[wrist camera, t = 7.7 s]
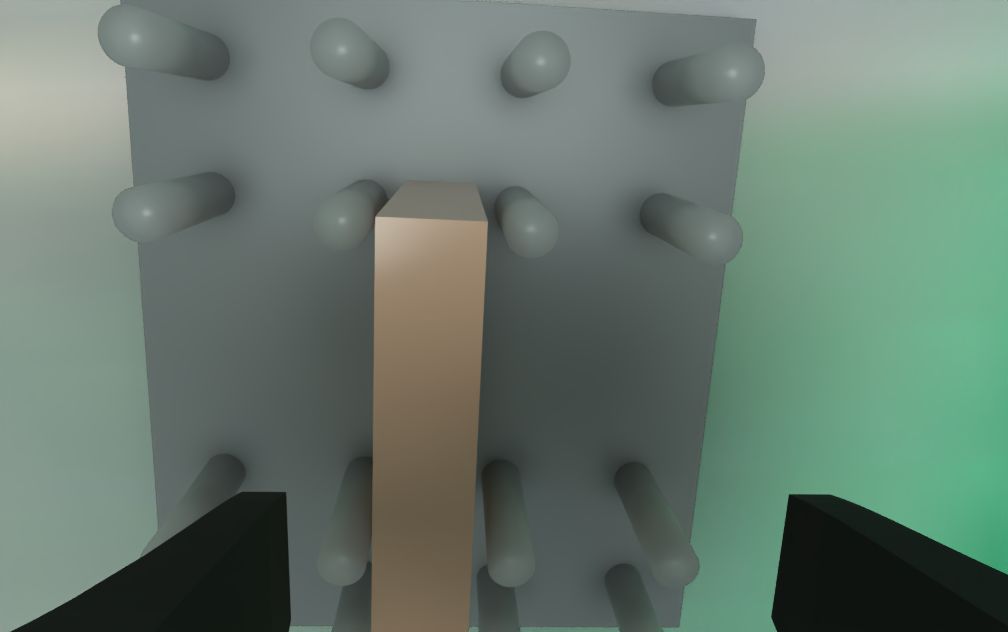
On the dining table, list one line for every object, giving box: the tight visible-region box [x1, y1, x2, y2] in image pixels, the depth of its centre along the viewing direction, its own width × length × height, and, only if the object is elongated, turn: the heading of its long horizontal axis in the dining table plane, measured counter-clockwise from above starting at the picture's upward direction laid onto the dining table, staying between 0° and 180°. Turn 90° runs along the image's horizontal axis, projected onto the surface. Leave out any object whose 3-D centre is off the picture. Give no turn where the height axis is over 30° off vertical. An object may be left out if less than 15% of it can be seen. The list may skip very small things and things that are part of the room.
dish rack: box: [98, 0, 765, 632], centre depth 17 cm, size 16×14×5 cm
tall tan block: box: [371, 180, 488, 632], centre depth 15 cm, size 8×2×7 cm, turn 177°
